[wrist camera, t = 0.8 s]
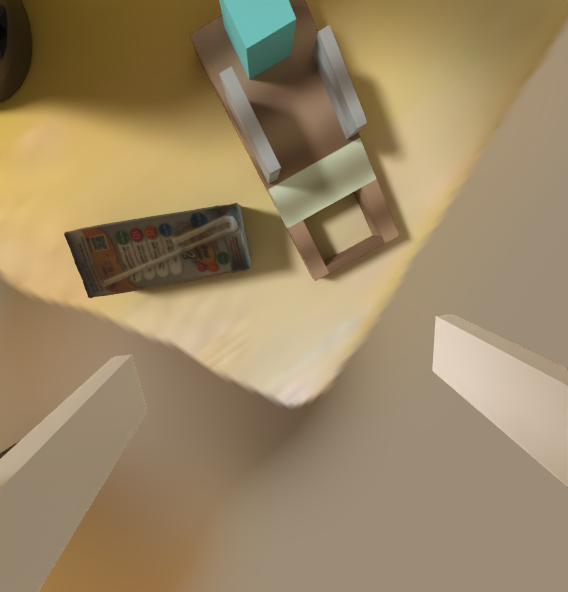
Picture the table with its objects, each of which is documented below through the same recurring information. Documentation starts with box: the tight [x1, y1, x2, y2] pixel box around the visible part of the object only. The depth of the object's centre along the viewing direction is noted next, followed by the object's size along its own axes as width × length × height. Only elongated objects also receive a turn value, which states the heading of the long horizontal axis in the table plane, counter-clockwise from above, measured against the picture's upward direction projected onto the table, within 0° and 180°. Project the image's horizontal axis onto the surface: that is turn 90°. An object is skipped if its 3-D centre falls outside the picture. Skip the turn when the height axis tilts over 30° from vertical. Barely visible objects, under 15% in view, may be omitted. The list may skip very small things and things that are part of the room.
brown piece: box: [190, 0, 399, 281], centre depth 29 cm, size 29×12×9 cm, turn 28°
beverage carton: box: [64, 203, 251, 298], centre depth 32 cm, size 8×19×7 cm, turn 100°
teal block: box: [219, 0, 296, 79], centre depth 25 cm, size 5×5×5 cm
